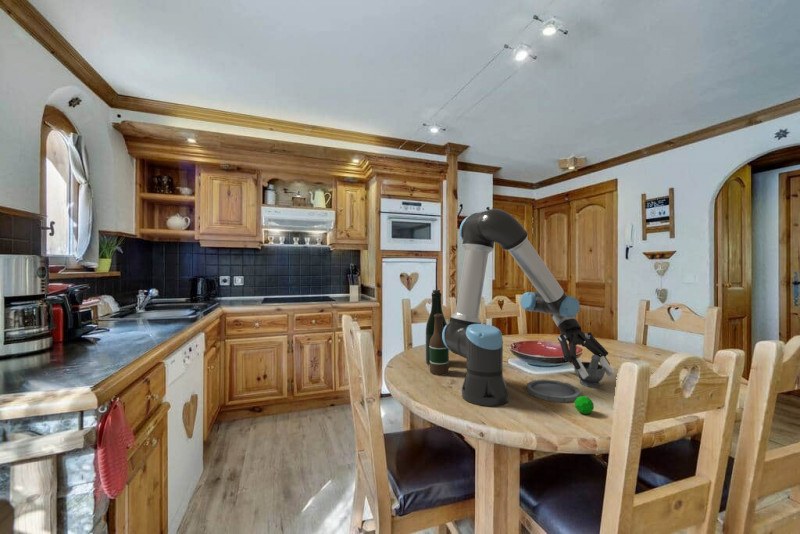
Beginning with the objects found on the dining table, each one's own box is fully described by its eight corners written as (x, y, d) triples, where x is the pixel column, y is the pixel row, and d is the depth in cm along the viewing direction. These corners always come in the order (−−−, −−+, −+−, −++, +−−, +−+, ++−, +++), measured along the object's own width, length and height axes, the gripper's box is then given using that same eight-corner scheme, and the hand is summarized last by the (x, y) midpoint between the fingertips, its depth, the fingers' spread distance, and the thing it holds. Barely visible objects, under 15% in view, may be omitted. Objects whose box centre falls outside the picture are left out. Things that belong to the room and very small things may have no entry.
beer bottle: (439, 377, 132) (438, 316, 131) (425, 372, 138) (425, 314, 137) (452, 372, 136) (452, 314, 136) (438, 368, 142) (438, 312, 142)
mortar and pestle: (570, 379, 127) (570, 348, 127) (596, 380, 126) (596, 348, 126) (583, 390, 116) (583, 356, 116) (612, 391, 115) (612, 356, 115)
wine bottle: (446, 359, 155) (445, 288, 155) (451, 366, 145) (450, 290, 144) (424, 360, 155) (423, 289, 154) (427, 367, 144) (426, 290, 144)
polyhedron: (576, 407, 103) (576, 392, 102) (595, 412, 99) (595, 396, 99) (573, 413, 99) (573, 397, 99) (592, 418, 96) (591, 401, 96)
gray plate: (568, 406, 103) (568, 402, 103) (518, 392, 115) (518, 387, 115) (587, 392, 114) (587, 388, 114) (540, 380, 126) (540, 376, 126)
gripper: (586, 327, 138) (619, 377, 122) (537, 330, 133) (565, 383, 118) (596, 316, 132) (631, 367, 117) (545, 319, 128) (576, 373, 112)
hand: (598, 375), depth 117 cm, fingers closed on mortar and pestle, 10 cm apart
